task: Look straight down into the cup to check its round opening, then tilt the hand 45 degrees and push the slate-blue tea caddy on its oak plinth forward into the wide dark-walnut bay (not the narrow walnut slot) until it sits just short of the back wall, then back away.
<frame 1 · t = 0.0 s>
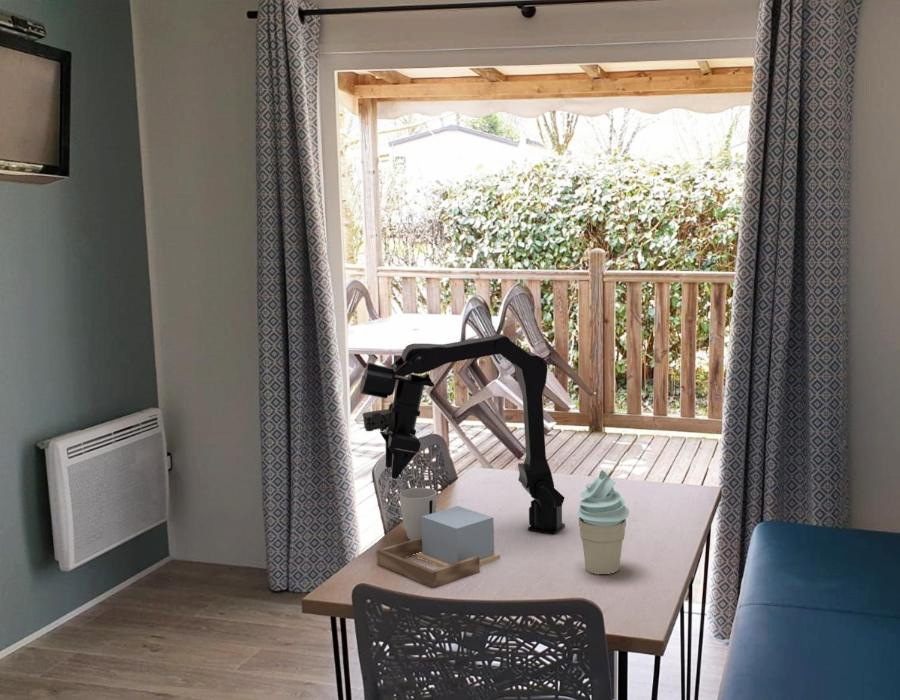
hand: (390, 472, 214), 15 cm above the table, tool pointing down, fingers open, 9 cm apart
tea caddy: (458, 558, 206), on the table
ice cream cone: (603, 570, 198), on the table
bay: (433, 566, 201), on the table
cup: (419, 537, 219), on the table
narrow slot: (458, 528, 225), on the table
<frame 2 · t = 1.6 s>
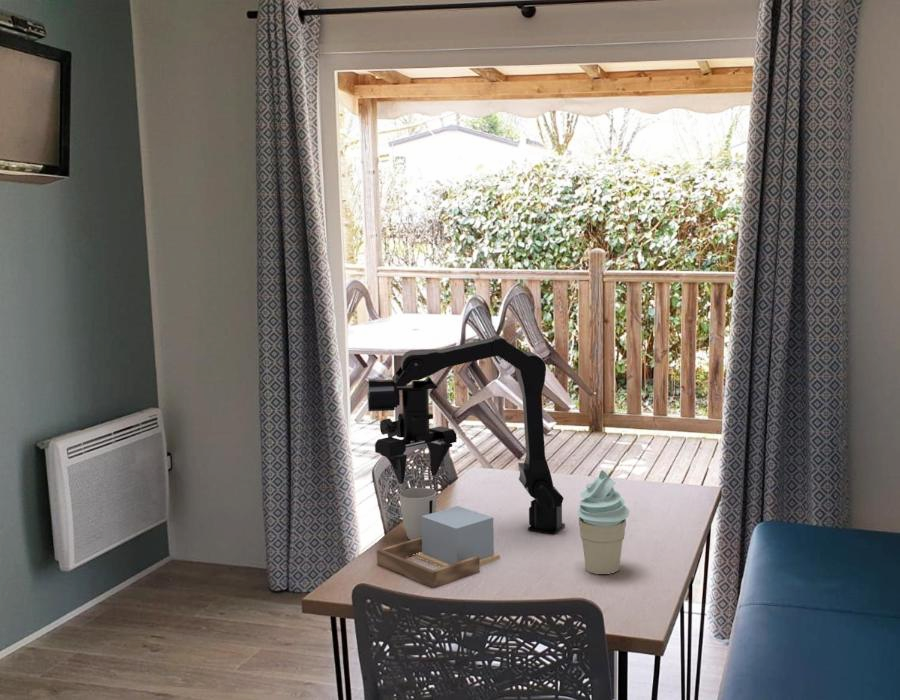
hand: (417, 479, 217), 13 cm above the table, tool pointing down, fingers open, 9 cm apart
nothing on the table moved.
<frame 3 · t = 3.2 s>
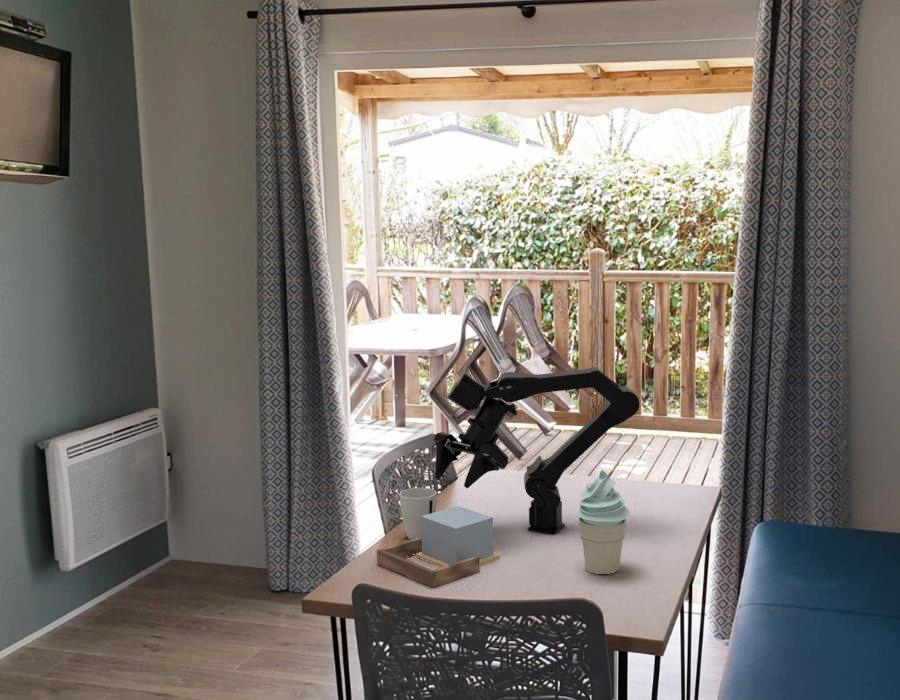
hand: (450, 482, 213), 13 cm above the table, tool tilted 45°, fingers open, 9 cm apart
nothing on the table moved.
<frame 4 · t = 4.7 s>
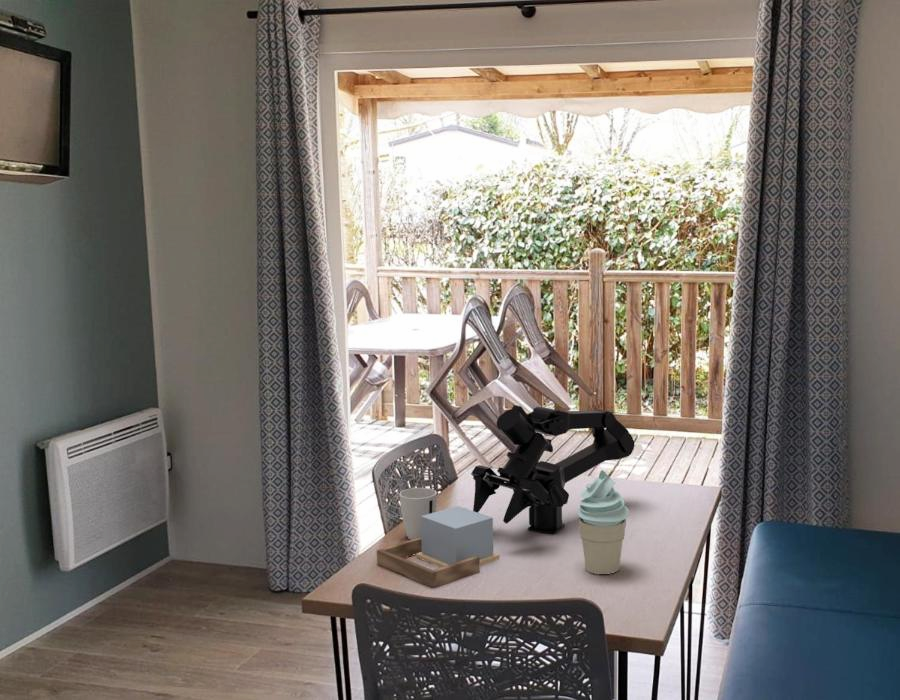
hand: (489, 517, 211), 7 cm above the table, tool tilted 45°, fingers open, 9 cm apart
nothing on the table moved.
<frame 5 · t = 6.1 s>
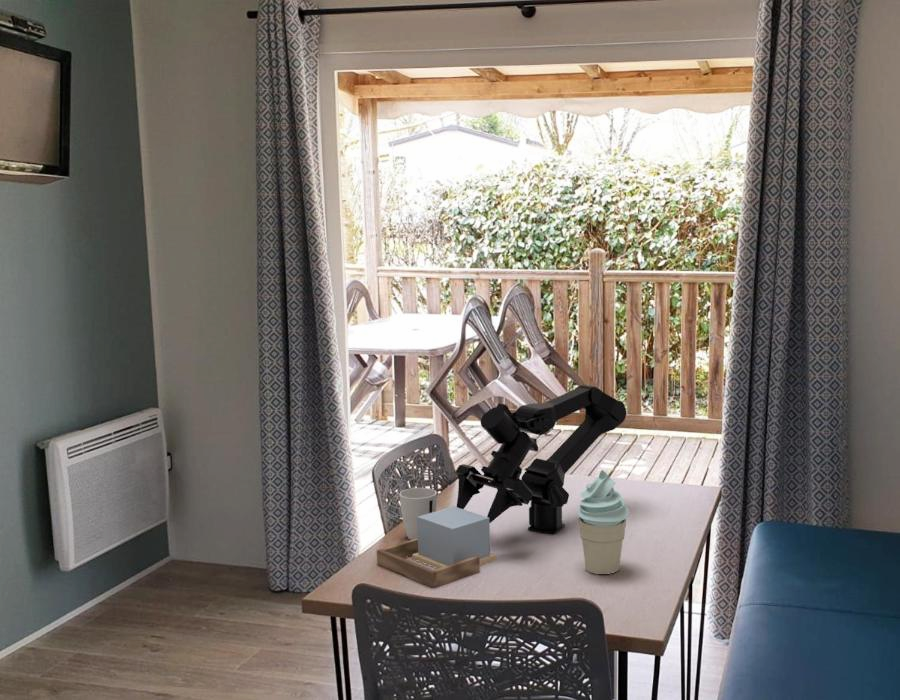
hand: (472, 517, 208), 8 cm above the table, tool tilted 45°, fingers open, 9 cm apart
tea caddy: (454, 559, 205), on the table, touching gripper
everything else where it was.
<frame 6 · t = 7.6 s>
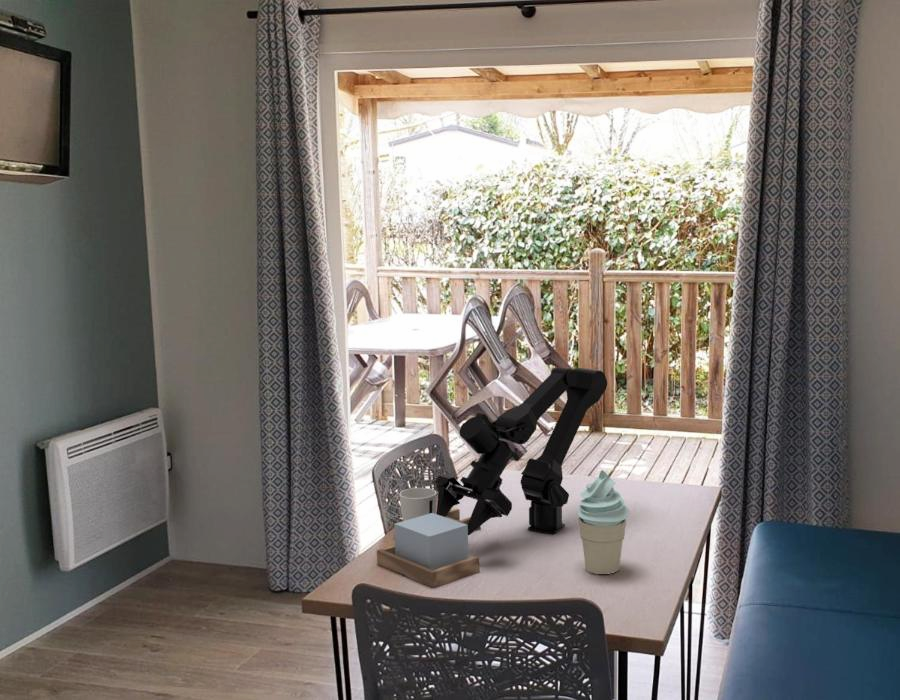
hand: (451, 528, 204), 7 cm above the table, tool tilted 45°, fingers open, 9 cm apart
tea caddy: (431, 567, 202), on the table
everything else where it was.
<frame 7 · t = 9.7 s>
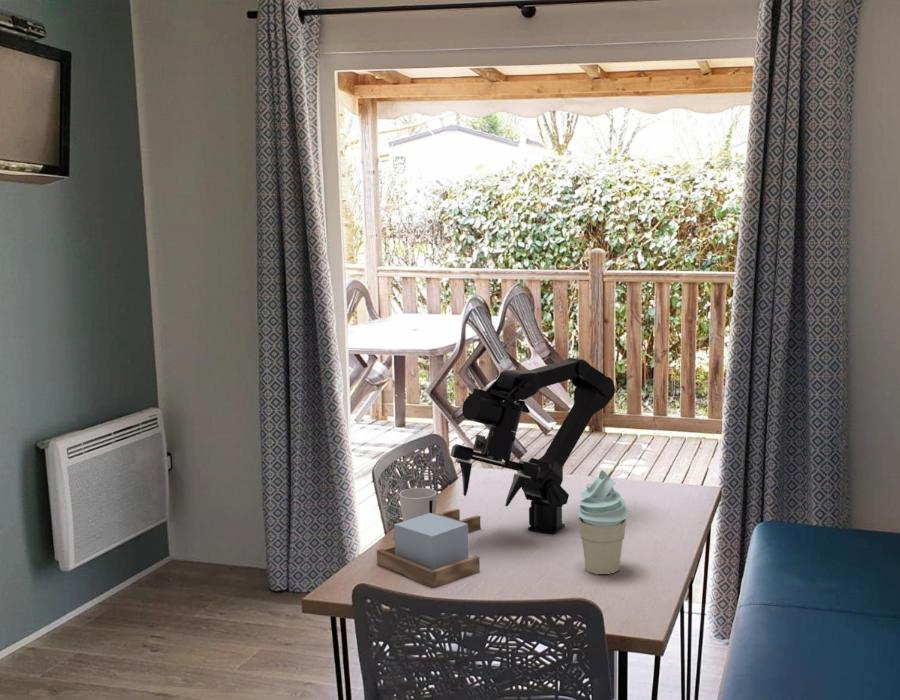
hand: (485, 500, 211), 10 cm above the table, tool tilted 20°, fingers open, 9 cm apart
nothing on the table moved.
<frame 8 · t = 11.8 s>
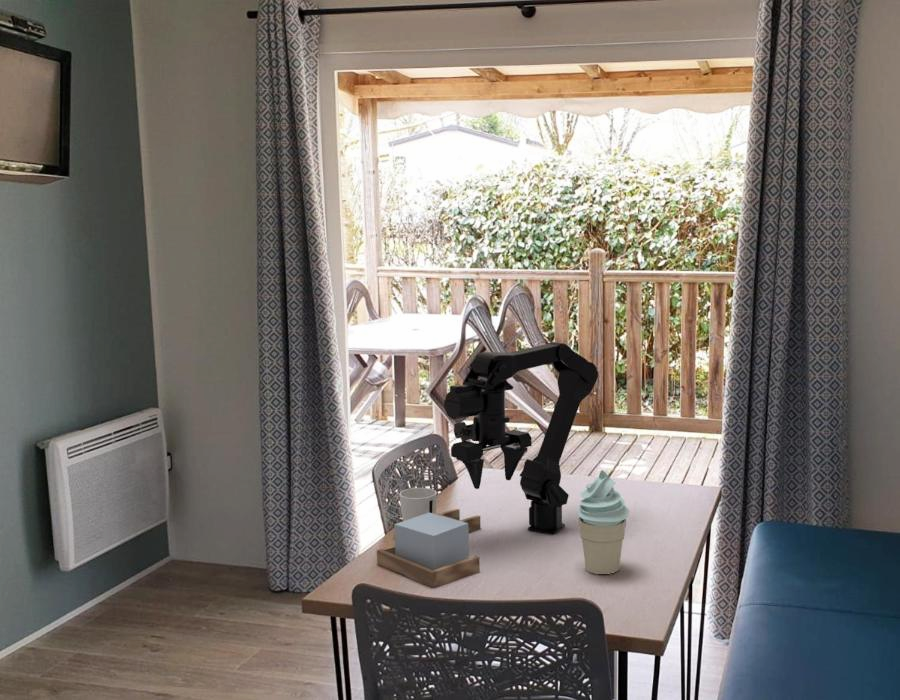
hand: (492, 484, 213), 13 cm above the table, tool pointing down, fingers open, 9 cm apart
nothing on the table moved.
at the end: tea caddy 0.5 cm from the bay (horizontally); tea caddy tilted 0°; tea caddy moved 6.7 cm from its start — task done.
